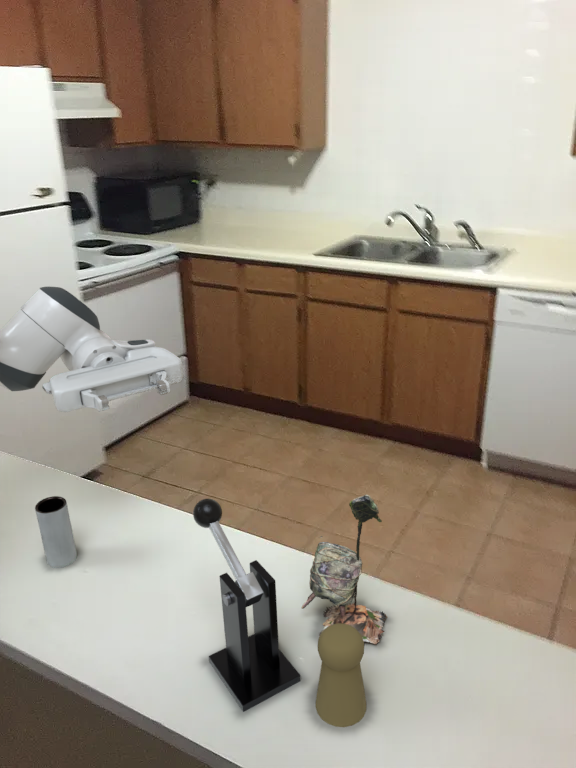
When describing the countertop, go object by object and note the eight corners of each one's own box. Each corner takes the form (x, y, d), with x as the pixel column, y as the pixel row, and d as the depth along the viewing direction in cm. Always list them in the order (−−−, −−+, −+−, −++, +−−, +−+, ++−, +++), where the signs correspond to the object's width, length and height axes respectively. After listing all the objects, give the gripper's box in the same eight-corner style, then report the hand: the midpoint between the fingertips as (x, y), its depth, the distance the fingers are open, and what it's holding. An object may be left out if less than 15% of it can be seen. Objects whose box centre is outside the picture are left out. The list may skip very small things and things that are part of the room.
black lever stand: (209, 662, 85) (198, 569, 79) (263, 636, 88) (257, 545, 82) (243, 713, 78) (235, 615, 72) (300, 682, 81) (297, 586, 75)
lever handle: (186, 513, 85) (190, 498, 82) (212, 504, 86) (216, 489, 84) (237, 613, 77) (242, 600, 75) (263, 600, 79) (270, 587, 77)
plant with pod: (318, 594, 95) (316, 474, 87) (394, 618, 91) (399, 493, 82) (293, 632, 89) (288, 506, 81) (373, 661, 84) (376, 530, 76)
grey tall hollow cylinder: (83, 555, 105) (72, 500, 101) (61, 572, 102) (49, 516, 97) (63, 547, 107) (52, 492, 103) (40, 563, 104) (28, 507, 99)
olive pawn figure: (370, 690, 80) (372, 619, 75) (362, 733, 75) (363, 660, 70) (321, 680, 82) (320, 610, 77) (309, 722, 76) (307, 650, 72)
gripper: (35, 365, 102) (60, 395, 91) (160, 336, 112) (196, 361, 101) (43, 402, 105) (67, 436, 94) (164, 371, 114) (199, 399, 104)
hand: (135, 397), depth 98 cm, fingers open, 8 cm apart
